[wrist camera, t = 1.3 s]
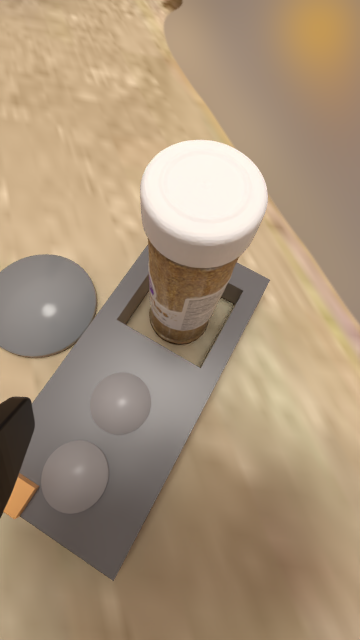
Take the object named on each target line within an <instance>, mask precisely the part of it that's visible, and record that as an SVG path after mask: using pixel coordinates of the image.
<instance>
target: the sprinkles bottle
mask: <svg viewBox="0 0 360 640" xmlns="http://www.w3.org/2000/svg"><path fill="white" fill-rule="evenodd" d="M140 199H141V214H142V223H143V227H144V231H145V233H146V235H147V237H148V248H149V250H148V251H149V263H148V270H149V292H150V305H151V308H150V322H151V325H152V327H153V329H154V330H155V332H156V333H157V334H158V335H159V336H160V337H161V338H162V339H164V340H166V341H168V342H171V343H177V344H183V343H189V342H191V341H194V340H196V339H197V338H199V337H200V336H201V335H202V334H203V332H204V331H205V330H206V327H207V324H208V321H209V318H210V317H211V316H212V314H213V312H214V310H215V308H216V306H217V304H218V302H219V300H220V298H221V296H222V294H223V292H224V290H225V288H226V286H227V284H228V282H229V280H230V278H231V275H232V272H233V269H234V267H235V264H236V262H237V260H238V258H239V257H240V255H241V254H242V253H243V252H244V251H245V250H246V249H247V248H248V246H249V245H250V243H251V242H252V240H253V238H254V236H255V234H256V232H257V230H258V228H259V225H260V223H261V221H262V219H263V217H264V215H265V211H266V208H267V203H268V193H267V187H266V183H265V180H264V178H263V176H262V174H261V172H260V171H259V169H258V168H257V166H256V165H255V164H254V163H253V162H252V161H251V160H250V159H249V158H248V157H247V156H245V155H244V154H243V153H241V152H240V151H238V150H237V149H235V148H232V147H230V146H228V145H225V144H222V143H219V142H215V141H209V140H190V141H184V142H180V143H177V144H174V145H172V146H169V147H167V148H166V149H164V150H162V151H161V152H159V153H158V154H157V155H156V156H155V157H154V158H153V159H152V160H151V161H150V163H149V164H148V165H147V167H146V169H145V171H144V174H143V176H142V180H141V186H140Z"/></svg>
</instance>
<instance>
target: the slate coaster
mask: <svg viewBox="0 0 360 640" xmlns="http://www.w3.org/2000/svg"><path fill="white" fill-rule="evenodd" d="M96 308H97V296H96V291H95V288H94V286H93V283H92V281H91V279H90V277H89V276H88V274H87V273H86V272H85V271H84V269H83V268H81V267H80V266H79V265H78V264H76V263H75V262H73V261H71V260H69V259H67V258H64V257H61V256H56V255H34V256H30V257H26V258H23V259H20V260H18V261H16V262H14V263H12V264H11V265H9V266H7V267H6V268H5V269H3V270H2V271H1V272H0V347H2V348H3V349H5V350H7V351H9V352H11V353H13V354H16V355H19V356H24V357H32V358H37V357H46V356H51V355H54V354H57V353H60V352H62V351H64V350H66V349H68V348H69V347H71V346H72V345H74V344H75V343H76V342H77V341H78V340H79V338H80V337H81V336H82V334H83V333H84V332H85V330H86V329H87V328H88V326H89V325H90V323H91V322H92V321H93V319H94V317H95V314H96Z"/></svg>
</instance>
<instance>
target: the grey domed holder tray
mask: <svg viewBox="0 0 360 640" xmlns="http://www.w3.org/2000/svg"><path fill="white" fill-rule="evenodd" d="M148 250H149V248H148V245H147V247H146V248H145V249H144V251H143V252H142V253H141V255H140V256H139V258H138V259H137V260H136V262H135V263H134V264H133V266H132V267H131V268H130V270H129V271H128V273H127V274H126V275H125V277H124V278H123V279H122V281H121V282H120V284H119V285H118V286H117V288H116V289H115V290H114V292H113V293H112V295H111V296H110V297H109V299H108V300H107V301H106V303H105V304H104V306H103V307H102V308H101V310H100V311H99V312H98V314H97V315H96V317H95V318H94V319H93V321H92V322H91V323H90V325H89V326H88V328H87V329H86V330H85V332H84V333H83V334H82V336H81V337H80V338H79V340H78V341H77V343H76V344H75V345H74V347H73V348H72V349H71V351H70V352H69V354H68V355H67V356H66V358H65V359H64V360H63V362H62V363H61V365H60V366H59V367H58V369H57V370H56V371H55V373H54V374H53V376H52V377H51V378H50V380H49V381H48V382H47V384H46V385H45V387H44V388H43V389H42V391H41V392H40V393H39V395H38V396H37V397H36V399H35V400H34V402H33V403H32V408H33V414H34V419H35V429H34V432H33V435H32V438H31V441H30V444H29V447H28V449H27V452H26V455H25V458H24V461H23V464H22V467H21V469H20V472H19V475H18V478H17V481H16V483H15V486H14V489H13V491H12V494H11V496H10V498H9V500H8V503H7V505H6V507H5V509H4V511H3V512H5V513H6V514H7V515H9V516H10V517H12V518H13V519H16V518H18V517H19V516H20V517H22V518H23V519H25V520H26V521H28V522H29V523H30V524H32V525H33V526H35V527H36V528H38V529H39V530H41V531H42V532H43V533H45V534H46V535H48V536H49V537H51V538H52V539H54V540H55V541H56V542H58V543H59V544H61V545H62V546H64V547H65V548H67V549H68V550H69V551H71V552H72V553H74V554H75V555H77V556H78V557H80V558H81V559H82V560H84V561H85V562H87V563H88V564H90V565H91V566H92V567H94V568H95V569H97V570H98V571H100V572H101V573H103V574H104V575H105V576H107V577H108V578H110V579H111V580H113V581H114V579H115V577H116V575H117V573H118V571H119V570H120V568H121V566H122V564H123V562H124V560H125V558H126V556H127V554H128V552H129V550H130V548H131V546H132V545H133V543H134V541H135V539H136V537H137V535H138V533H139V531H140V529H141V527H142V525H143V523H144V521H145V520H146V518H147V516H148V514H149V512H150V510H151V508H152V506H153V504H154V502H155V500H156V498H157V496H158V495H159V493H160V491H161V489H162V487H163V485H164V483H165V481H166V479H167V477H168V475H169V473H170V471H171V470H172V468H173V466H174V464H175V462H176V460H177V458H178V456H179V454H180V452H181V450H182V448H183V446H184V445H185V443H186V441H187V439H188V437H189V435H190V433H191V431H192V429H193V427H194V425H195V423H196V421H197V420H198V418H199V416H200V414H201V412H202V410H203V408H204V406H205V404H206V402H207V400H208V398H209V396H210V395H211V393H212V391H213V389H214V387H215V385H216V383H217V381H218V379H219V377H220V375H221V373H222V372H223V370H224V368H225V366H226V364H227V362H228V360H229V358H230V356H231V354H232V352H233V350H234V348H235V347H236V345H237V343H238V341H239V339H240V337H241V335H242V333H243V331H244V329H245V327H246V325H247V323H248V322H249V320H250V318H251V316H252V314H253V312H254V310H255V308H256V306H257V304H258V302H259V300H260V298H261V297H262V295H263V293H264V291H265V289H266V287H267V285H268V283H269V281H270V280H269V279H267V278H265V277H263V276H262V275H260V274H258V273H256V272H254V271H252V270H250V269H248V268H246V267H244V266H242V265H241V264H239V263H237V262H236V264H235V267H234V269H233V272H232V275H231V278H230V280H229V282H228V284H227V286H226V288H225V290H224V292H223V294H222V296H221V297H223V298H224V299H226V300H228V301H230V302H232V303H234V304H235V305H234V307H233V309H232V311H231V312H230V314H229V316H228V318H227V320H226V321H225V323H224V325H223V327H222V329H221V331H220V332H219V334H218V336H217V338H216V340H215V341H214V343H213V345H212V347H211V349H210V350H209V352H208V354H207V356H206V358H205V360H204V361H203V363H202V365H201V367H200V368H199V367H198V366H196V365H194V364H192V363H191V362H189V361H187V360H186V359H184V358H182V357H180V356H179V355H177V354H175V353H173V352H172V351H170V350H168V349H166V348H165V347H163V346H161V345H160V344H158V343H156V342H154V341H153V340H151V339H149V338H147V337H146V336H144V335H142V334H140V333H139V332H137V331H135V330H134V329H132V328H130V327H128V326H127V325H125V324H126V323H127V321H128V320H129V318H130V317H131V315H132V314H133V313H134V311H135V310H136V308H137V307H138V305H139V304H140V302H141V301H142V299H143V298H144V296H145V295H146V293H147V292H148V291H149V270H148V263H149V251H148Z"/></svg>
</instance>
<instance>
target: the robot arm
mask: <svg viewBox="0 0 360 640" xmlns="http://www.w3.org/2000/svg"><path fill="white" fill-rule="evenodd" d="M34 429H35V419H34V414H33V408H32V403H31V400H30V399H29V398H28V397H11V398H9V399H7V400H6V401H4V402H2V403H1V404H0V518H1V516H2V513H3V511H4V509H5V507H6V505H7V503H8V500H9V498H10V496H11V494H12V491H13V489H14V486H15V483H16V481H17V478H18V475H19V472H20V469H21V467H22V464H23V461H24V458H25V455H26V452H27V449H28V447H29V444H30V441H31V438H32V435H33V432H34Z"/></svg>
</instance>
